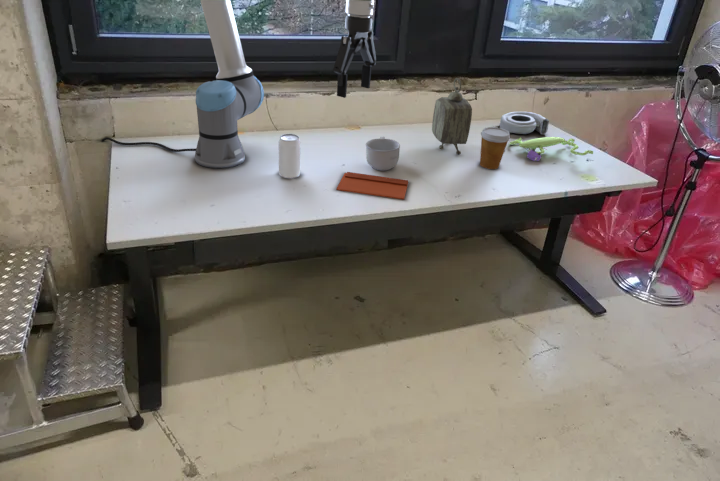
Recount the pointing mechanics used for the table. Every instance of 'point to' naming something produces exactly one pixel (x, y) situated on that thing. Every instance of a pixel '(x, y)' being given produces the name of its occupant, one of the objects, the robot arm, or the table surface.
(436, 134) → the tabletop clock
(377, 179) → the orange envelope wallet
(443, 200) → the table surface
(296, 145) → the can
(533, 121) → the turbocharger housing
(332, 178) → the table surface
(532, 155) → the figurine
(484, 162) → the disposable coffee cup
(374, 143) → the teacup
